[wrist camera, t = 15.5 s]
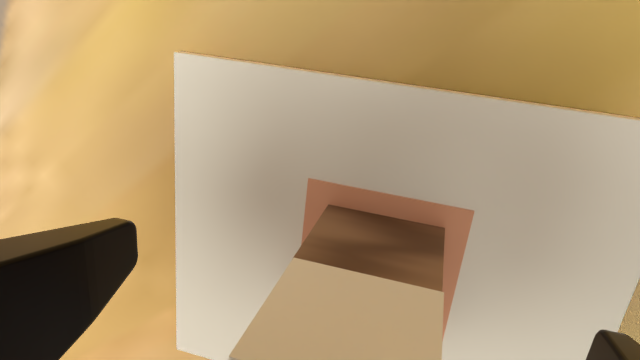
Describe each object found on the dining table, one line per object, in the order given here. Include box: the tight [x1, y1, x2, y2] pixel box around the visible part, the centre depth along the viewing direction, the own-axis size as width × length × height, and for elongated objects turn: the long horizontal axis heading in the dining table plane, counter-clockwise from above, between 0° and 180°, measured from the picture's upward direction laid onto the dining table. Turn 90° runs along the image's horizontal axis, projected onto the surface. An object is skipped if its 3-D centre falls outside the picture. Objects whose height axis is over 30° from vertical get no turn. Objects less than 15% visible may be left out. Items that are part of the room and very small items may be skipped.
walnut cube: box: [293, 204, 445, 292], centre depth 18 cm, size 5×5×5 cm
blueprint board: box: [174, 51, 640, 360], centre depth 21 cm, size 20×16×1 cm
